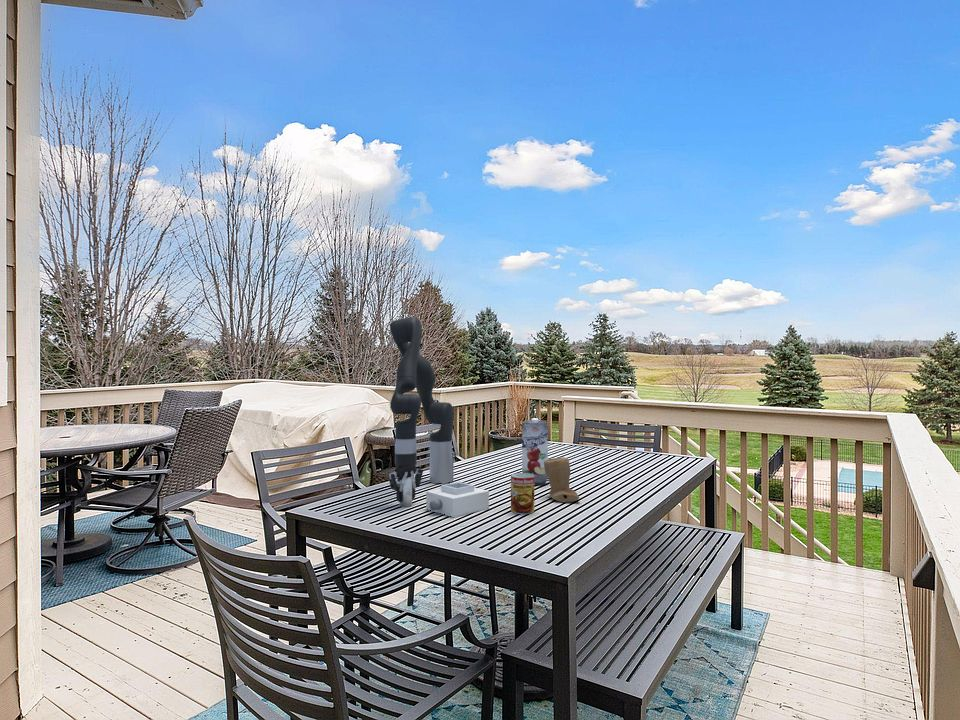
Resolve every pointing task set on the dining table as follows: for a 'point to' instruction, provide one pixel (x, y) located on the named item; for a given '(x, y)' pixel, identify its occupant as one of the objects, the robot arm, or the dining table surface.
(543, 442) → the juice carton
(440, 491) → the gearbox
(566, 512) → the dining table surface
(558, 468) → the tan suede boot
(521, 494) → the canned food
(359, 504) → the dining table surface
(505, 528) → the dining table surface
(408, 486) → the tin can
